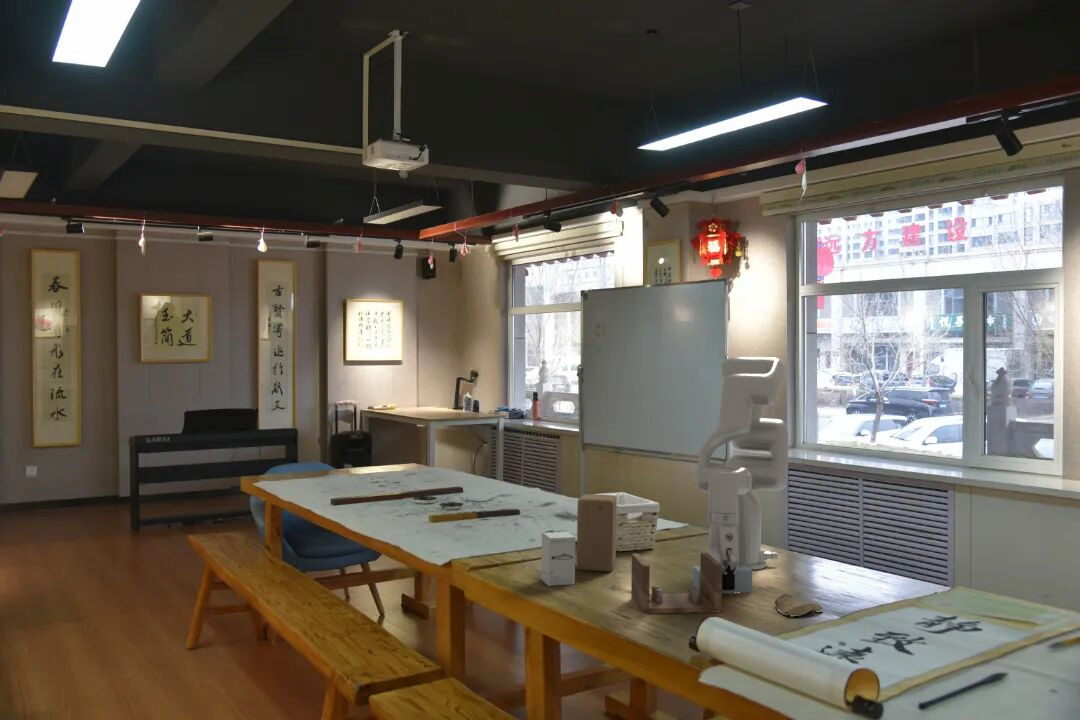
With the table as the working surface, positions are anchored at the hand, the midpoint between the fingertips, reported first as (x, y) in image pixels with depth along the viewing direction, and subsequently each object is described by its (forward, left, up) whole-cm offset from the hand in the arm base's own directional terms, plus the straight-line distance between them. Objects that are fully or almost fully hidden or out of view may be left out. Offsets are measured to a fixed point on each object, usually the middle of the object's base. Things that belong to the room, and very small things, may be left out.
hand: (722, 584), depth 222 cm
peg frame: (+15, +12, -2) cm, 20 cm away
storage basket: (+15, -56, -2) cm, 58 cm away
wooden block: (+28, -26, -2) cm, 38 cm away
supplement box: (+41, -11, -2) cm, 42 cm away
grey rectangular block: (0, 0, -2) cm, 2 cm away
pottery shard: (-12, +18, -2) cm, 22 cm away
